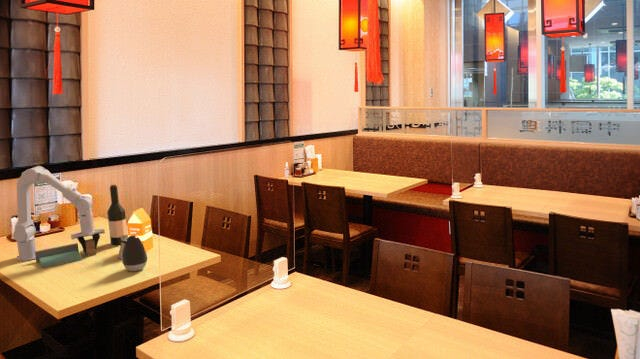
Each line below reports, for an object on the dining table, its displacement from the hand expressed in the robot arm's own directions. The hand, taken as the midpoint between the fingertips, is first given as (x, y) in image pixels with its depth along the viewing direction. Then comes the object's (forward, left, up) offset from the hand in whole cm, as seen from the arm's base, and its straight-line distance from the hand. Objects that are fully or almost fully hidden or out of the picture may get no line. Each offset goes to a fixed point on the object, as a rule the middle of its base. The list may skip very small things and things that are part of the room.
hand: (90, 250), depth 242 cm
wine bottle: (-9, +16, -2) cm, 18 cm away
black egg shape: (+35, +10, -2) cm, 36 cm away
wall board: (-1, -13, -2) cm, 13 cm away
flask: (+15, +12, -2) cm, 19 cm away
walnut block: (0, 0, -2) cm, 2 cm away
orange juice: (+10, +21, -2) cm, 23 cm away
